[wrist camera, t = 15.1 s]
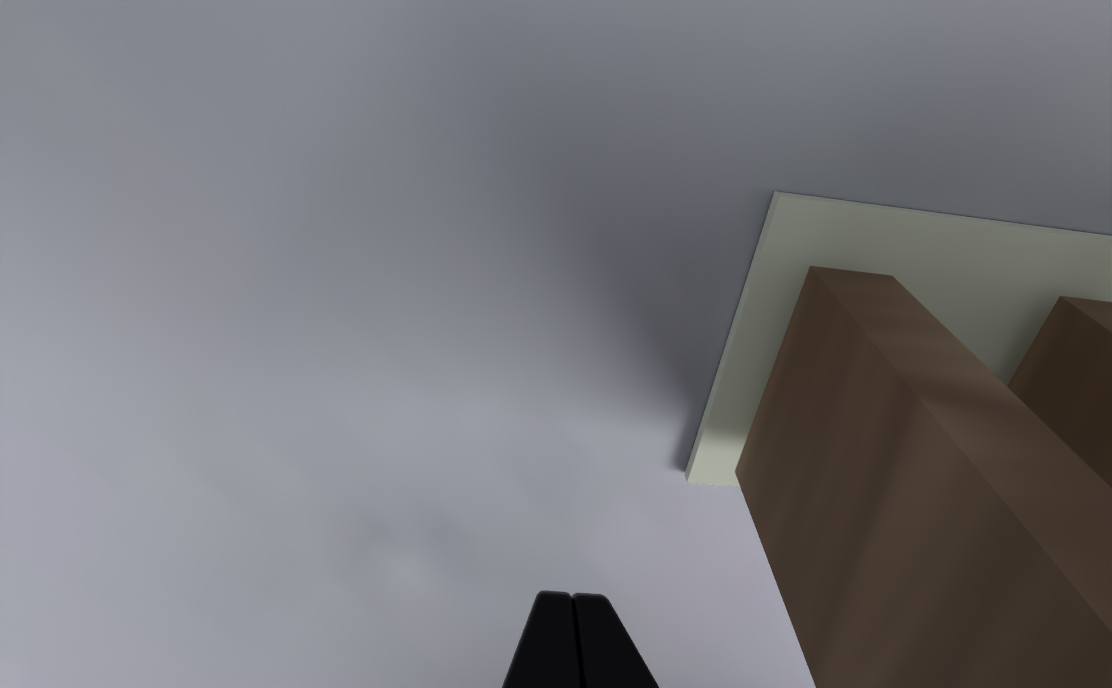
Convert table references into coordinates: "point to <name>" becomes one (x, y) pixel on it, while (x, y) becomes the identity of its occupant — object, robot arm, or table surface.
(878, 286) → the walnut domino
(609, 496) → the table surface
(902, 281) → the domino mat
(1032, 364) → the walnut domino
